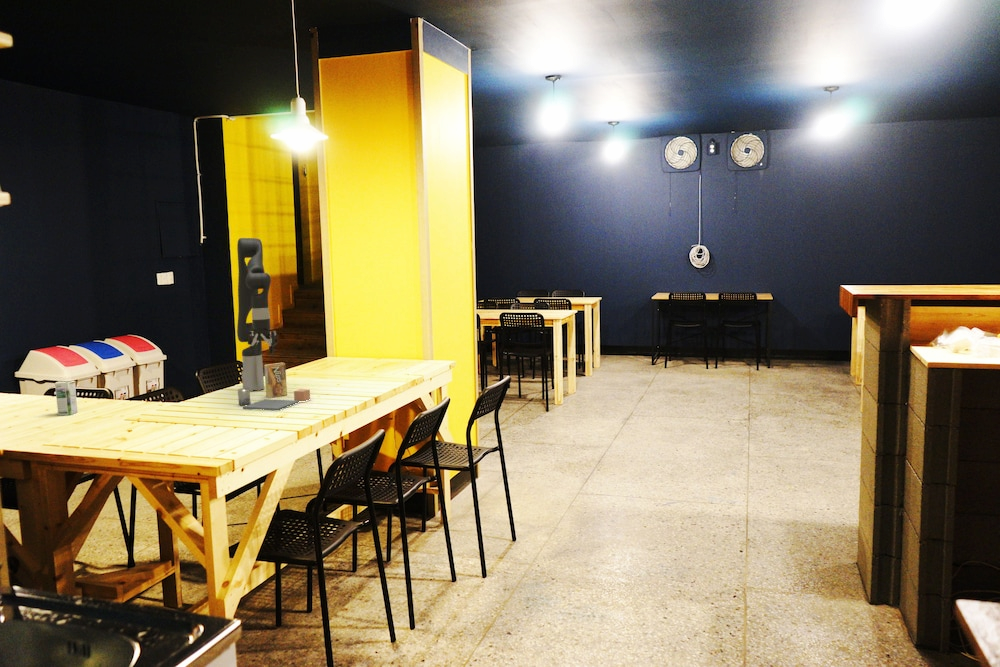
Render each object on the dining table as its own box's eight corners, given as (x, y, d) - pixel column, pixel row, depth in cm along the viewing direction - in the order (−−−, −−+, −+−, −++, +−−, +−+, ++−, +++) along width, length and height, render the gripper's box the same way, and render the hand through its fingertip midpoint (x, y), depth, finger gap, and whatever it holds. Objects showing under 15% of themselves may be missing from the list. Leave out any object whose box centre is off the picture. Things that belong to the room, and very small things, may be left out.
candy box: (283, 394, 357) (281, 362, 355) (287, 395, 354) (285, 363, 352) (265, 396, 352) (263, 364, 350) (269, 398, 348) (267, 365, 347)
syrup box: (57, 415, 324) (54, 382, 322) (65, 412, 329) (62, 380, 328) (70, 415, 324) (67, 382, 322) (78, 412, 329) (75, 379, 328)
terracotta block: (294, 402, 338) (293, 391, 337) (300, 399, 343) (300, 389, 342) (304, 402, 336) (303, 391, 336) (310, 400, 341) (309, 389, 340)
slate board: (242, 409, 326) (242, 406, 326) (265, 401, 341) (264, 399, 341) (278, 410, 320) (278, 408, 320) (299, 402, 335) (299, 400, 335)
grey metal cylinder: (236, 405, 333) (235, 390, 332) (243, 403, 338) (242, 388, 337) (245, 406, 332) (244, 390, 331) (252, 403, 336) (251, 388, 336)
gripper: (279, 317, 333) (282, 353, 335) (253, 317, 338) (255, 353, 340) (269, 318, 326) (271, 355, 328) (242, 319, 331) (244, 355, 333)
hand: (263, 354), depth 334 cm, fingers open, 8 cm apart
